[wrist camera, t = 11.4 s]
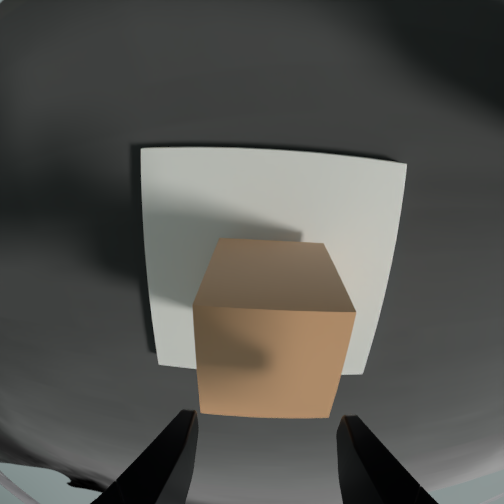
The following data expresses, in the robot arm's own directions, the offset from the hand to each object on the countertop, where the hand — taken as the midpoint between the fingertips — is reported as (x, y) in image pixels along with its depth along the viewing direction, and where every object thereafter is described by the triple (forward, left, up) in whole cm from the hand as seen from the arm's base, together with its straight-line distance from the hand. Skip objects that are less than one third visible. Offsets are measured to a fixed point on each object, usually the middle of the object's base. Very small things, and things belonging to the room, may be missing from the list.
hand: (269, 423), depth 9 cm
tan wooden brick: (0, 0, -9) cm, 9 cm away
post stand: (0, 0, -11) cm, 11 cm away
